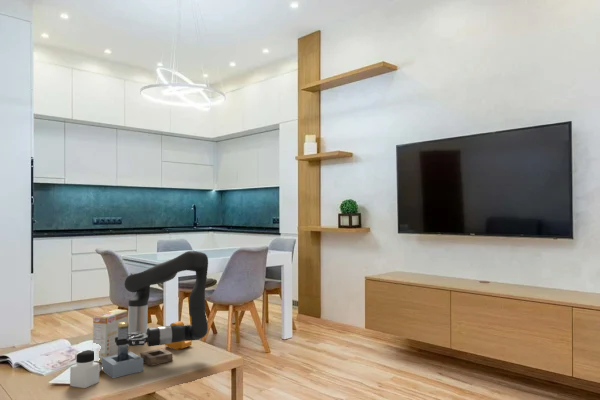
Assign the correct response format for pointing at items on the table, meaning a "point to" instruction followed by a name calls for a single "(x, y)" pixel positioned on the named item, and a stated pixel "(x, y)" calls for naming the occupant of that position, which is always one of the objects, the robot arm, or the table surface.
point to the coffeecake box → (108, 331)
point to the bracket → (182, 343)
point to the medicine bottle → (84, 370)
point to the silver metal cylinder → (123, 334)
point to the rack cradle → (122, 365)
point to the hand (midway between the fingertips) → (115, 341)
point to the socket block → (156, 356)
